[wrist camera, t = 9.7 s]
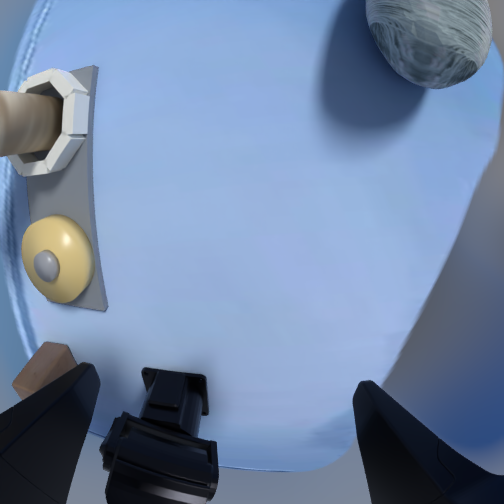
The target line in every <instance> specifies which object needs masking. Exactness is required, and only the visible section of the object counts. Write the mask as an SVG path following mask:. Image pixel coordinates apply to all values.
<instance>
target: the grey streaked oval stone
mask: <svg viewBox="0 0 504 504" xmlns="http://www.w3.org/2000/svg"><path fill="white" fill-rule="evenodd" d="M366 17H367V21H368V25H369V28H370V31H371V34H372V36H373V38H374V40H375V42H376V44H377V46H378V48H379V49H380V51H381V52H382V54H383V56H384V57H385V59H386V60H387V61H388V63H389V64H390V65H391V67H392V68H393V69H394V70H395V71H396V72H397V73H398V74H399V75H401V76H402V77H404V78H405V79H407V80H408V81H410V82H412V83H414V84H416V85H419V86H422V87H426V88H431V89H442V88H446V87H450V86H453V85H456V84H458V83H460V82H463V81H465V80H467V79H468V78H470V77H471V76H472V75H474V74H475V73H476V72H477V71H478V70H479V69H480V67H481V66H482V65H483V64H484V62H485V60H486V58H487V55H488V52H489V49H490V45H491V41H492V21H491V13H490V9H489V5H488V2H487V0H366Z"/></svg>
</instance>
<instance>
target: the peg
mask: <svg viewBox="0 0 504 504" xmlns="http://www.w3.org/2000/svg"><path fill="white" fill-rule="evenodd" d="M63 105H64V101H63V100H62V99H61V98H58V97H53V96H46V95H38V94H30V93H21V92H11V91H0V157H3V156H9V155H16V154H23V153H30V152H38V151H47V150H51V149H52V147H53V146H54V144H55V142H56V141H57V139H58V138H59V136H60V135H61V133H62V119H63Z"/></svg>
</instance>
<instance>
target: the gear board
mask: <svg viewBox="0 0 504 504" xmlns="http://www.w3.org/2000/svg"><path fill="white" fill-rule="evenodd" d="M97 75H98V67H97V66H94V65H92V66H88V67H84V68H81V69H77V70H73V71H70V72H66V71H63V70H60V69H55V68H52V69H49V70H46V71H43V72H41V73H38V74H36V75H33V76H31V77H28V78H27V81H24V82H23V84H22V85H21V87H20V89H19V90H18V92H21V93H30V94H38V95H46V96H53V97H58V98H61V99H62V100H63V101H64V105H63V119H62V133H61V135H60V136H59V138H58V139H57V141H56V142H55V144H54V146H53V147H52V149H51V150H47V151H38V152H30V153H23V154H16V155H9V156H7V157H8V159H9V160H10V162H11V163H12V165H13V166H14V168H15V169H16V171H17V172H18V174H19V175H23V177H25V176H27V192H28V203H29V212H30V220H31V225H30V226H29V227H28V228H27V230H26V232H25V233H24V236H23V240H22V246H21V252H22V260H23V264H24V267H25V270H26V272H27V275H28V277H29V278H30V280H31V282H32V283H33V285H34V286H35V287H36V288H37V290H38V291H39V292H40V293H42V294H43V295H44V296H45V297H46V298H47V301H50V302H55V303H60V304H65V305H71V306H77V307H83V308H89V309H95V310H101V311H105V310H106V309H107V307H108V302H107V297H106V292H105V287H104V281H103V276H102V269H101V263H100V256H99V249H98V241H97V232H96V222H95V210H94V194H93V165H92V147H93V118H94V104H95V92H96V83H97Z"/></svg>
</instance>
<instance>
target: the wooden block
mask: <svg viewBox="0 0 504 504" xmlns="http://www.w3.org/2000/svg"><path fill="white" fill-rule="evenodd" d="M76 366H77V364H76V362H75V360H74V358H73V356H72V354H71V352H70V350H69V348H68V346H67V345H64V344H58V343H51V342H44V343H43V344H42V346H41V347H40V348H39V349H38V350H37V352H36V353H35V354H34V355H33V357H32V358H31V359H30V360H29V362H28V363H27V364H26V366H25V367H24V368H23V369H22V371H21V372H20V373H19V374H18V376H17V377H16V378H15V380H14V381H13V383H12V386H13V388H14V389H15V391H16V392H17V394H18V395H19V397H20V398H21V399H22V400H24V399H25V398H27V397H28V396H30V395H31V394H33V393H35V392H36V391H38V390H39V389H41V388H42V387H44V386H46V385H47V384H49V383H50V382H52V381H54V380H55V379H57V378H58V377H60V376H61V375H63V374H65V373H66V372H68V371H69V370H71V369H72V368H74V367H76Z"/></svg>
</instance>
